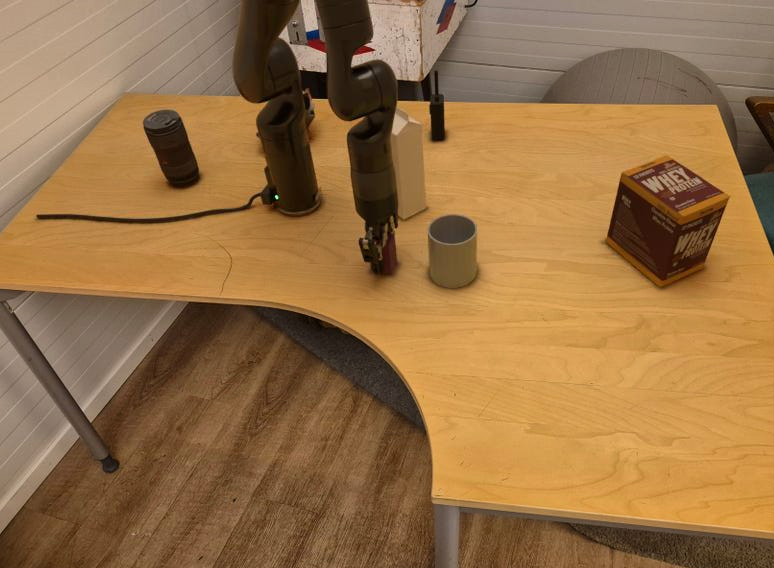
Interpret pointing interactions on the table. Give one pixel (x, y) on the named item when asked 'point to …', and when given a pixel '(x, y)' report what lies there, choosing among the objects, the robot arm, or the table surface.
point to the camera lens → (172, 147)
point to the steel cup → (452, 250)
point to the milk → (408, 164)
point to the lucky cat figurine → (306, 110)
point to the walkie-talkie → (437, 113)
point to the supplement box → (665, 219)
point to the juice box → (389, 254)
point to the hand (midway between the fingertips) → (383, 262)
